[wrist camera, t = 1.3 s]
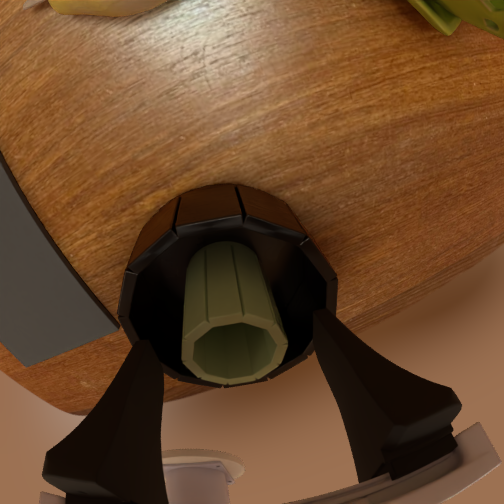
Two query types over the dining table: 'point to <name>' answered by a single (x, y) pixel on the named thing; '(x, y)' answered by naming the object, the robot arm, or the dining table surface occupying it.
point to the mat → (40, 286)
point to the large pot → (216, 230)
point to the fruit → (98, 6)
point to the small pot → (230, 316)
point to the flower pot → (462, 14)
